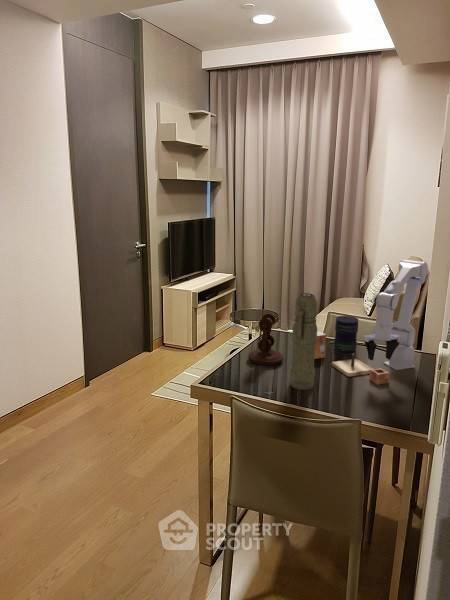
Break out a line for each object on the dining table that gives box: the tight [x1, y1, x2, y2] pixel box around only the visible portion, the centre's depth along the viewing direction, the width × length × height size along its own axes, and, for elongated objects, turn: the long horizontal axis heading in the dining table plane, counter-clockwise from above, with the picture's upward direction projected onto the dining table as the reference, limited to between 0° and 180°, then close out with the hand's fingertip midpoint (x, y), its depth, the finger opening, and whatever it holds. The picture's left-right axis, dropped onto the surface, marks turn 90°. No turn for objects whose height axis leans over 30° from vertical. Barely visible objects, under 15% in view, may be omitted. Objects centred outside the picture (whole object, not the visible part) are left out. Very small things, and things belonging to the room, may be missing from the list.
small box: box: [314, 330, 327, 360], centre depth 202 cm, size 8×6×10 cm
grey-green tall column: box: [289, 292, 318, 391], centre depth 171 cm, size 9×12×35 cm
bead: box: [368, 367, 390, 385], centre depth 179 cm, size 5×5×4 cm
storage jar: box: [333, 315, 359, 355], centre depth 209 cm, size 10×10×15 cm
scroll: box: [248, 313, 284, 368], centre depth 196 cm, size 15×15×20 cm
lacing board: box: [331, 353, 374, 378], centre depth 190 cm, size 12×12×6 cm
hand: (379, 359), depth 178 cm, fingers open, 7 cm apart
